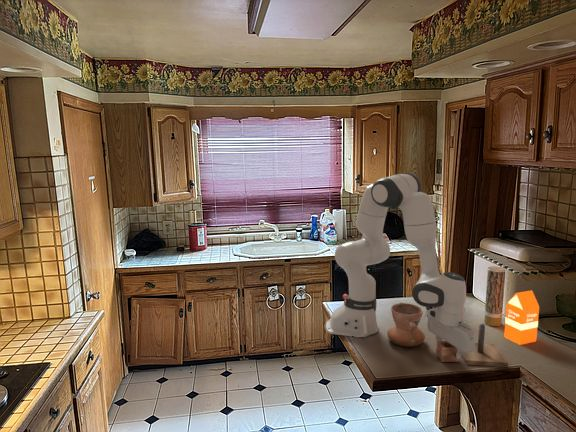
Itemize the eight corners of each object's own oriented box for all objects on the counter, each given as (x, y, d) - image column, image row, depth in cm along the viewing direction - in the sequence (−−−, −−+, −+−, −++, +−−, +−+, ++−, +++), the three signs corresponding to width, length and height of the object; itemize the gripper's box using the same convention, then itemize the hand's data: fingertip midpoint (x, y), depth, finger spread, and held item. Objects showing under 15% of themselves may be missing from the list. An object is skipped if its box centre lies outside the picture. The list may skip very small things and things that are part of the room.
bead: (442, 361, 153) (443, 349, 152) (436, 353, 159) (436, 341, 158) (458, 361, 153) (459, 348, 152) (451, 353, 159) (452, 340, 158)
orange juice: (503, 336, 173) (507, 290, 169) (520, 333, 176) (524, 287, 172) (520, 345, 166) (524, 296, 162) (536, 341, 168) (541, 293, 165)
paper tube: (484, 325, 183) (488, 270, 179) (483, 319, 189) (487, 265, 185) (502, 328, 181) (506, 271, 176) (500, 321, 187) (504, 267, 183)
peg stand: (465, 364, 152) (467, 331, 150) (455, 345, 166) (457, 315, 163) (506, 366, 150) (509, 333, 148) (493, 347, 164) (495, 317, 162)
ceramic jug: (430, 351, 161) (432, 316, 159) (392, 352, 161) (394, 316, 159) (416, 332, 179) (417, 299, 177) (382, 332, 179) (383, 300, 177)
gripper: (480, 327, 145) (477, 364, 147) (438, 305, 163) (436, 339, 166) (466, 330, 142) (463, 368, 145) (425, 308, 161) (423, 342, 163)
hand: (448, 352), depth 155 cm, fingers closed on bead, 7 cm apart
